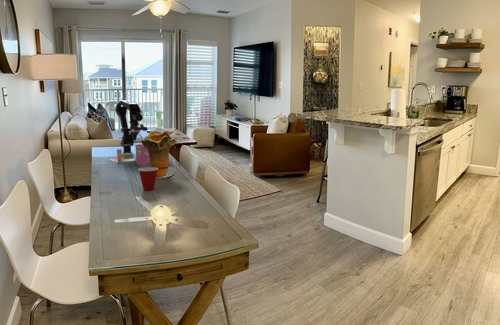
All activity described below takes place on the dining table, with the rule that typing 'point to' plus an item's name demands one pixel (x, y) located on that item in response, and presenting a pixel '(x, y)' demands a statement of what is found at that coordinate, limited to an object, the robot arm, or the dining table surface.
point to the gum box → (142, 155)
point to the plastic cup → (148, 177)
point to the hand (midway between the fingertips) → (134, 140)
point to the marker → (119, 154)
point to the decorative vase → (159, 151)
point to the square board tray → (124, 158)
